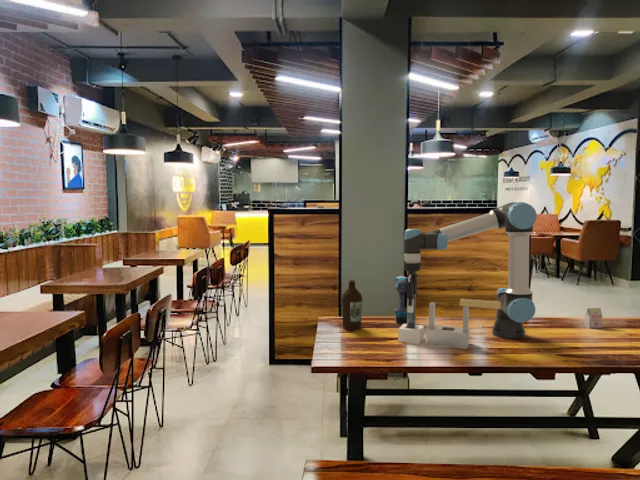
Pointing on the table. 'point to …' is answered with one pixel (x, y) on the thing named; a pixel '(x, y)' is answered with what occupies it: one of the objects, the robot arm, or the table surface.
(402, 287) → the impact wrench
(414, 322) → the smooth metal cylinder
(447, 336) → the grey post stand
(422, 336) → the cream square block
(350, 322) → the olive oil
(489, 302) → the rectangular wooden block
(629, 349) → the table surface
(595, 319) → the milk carton
